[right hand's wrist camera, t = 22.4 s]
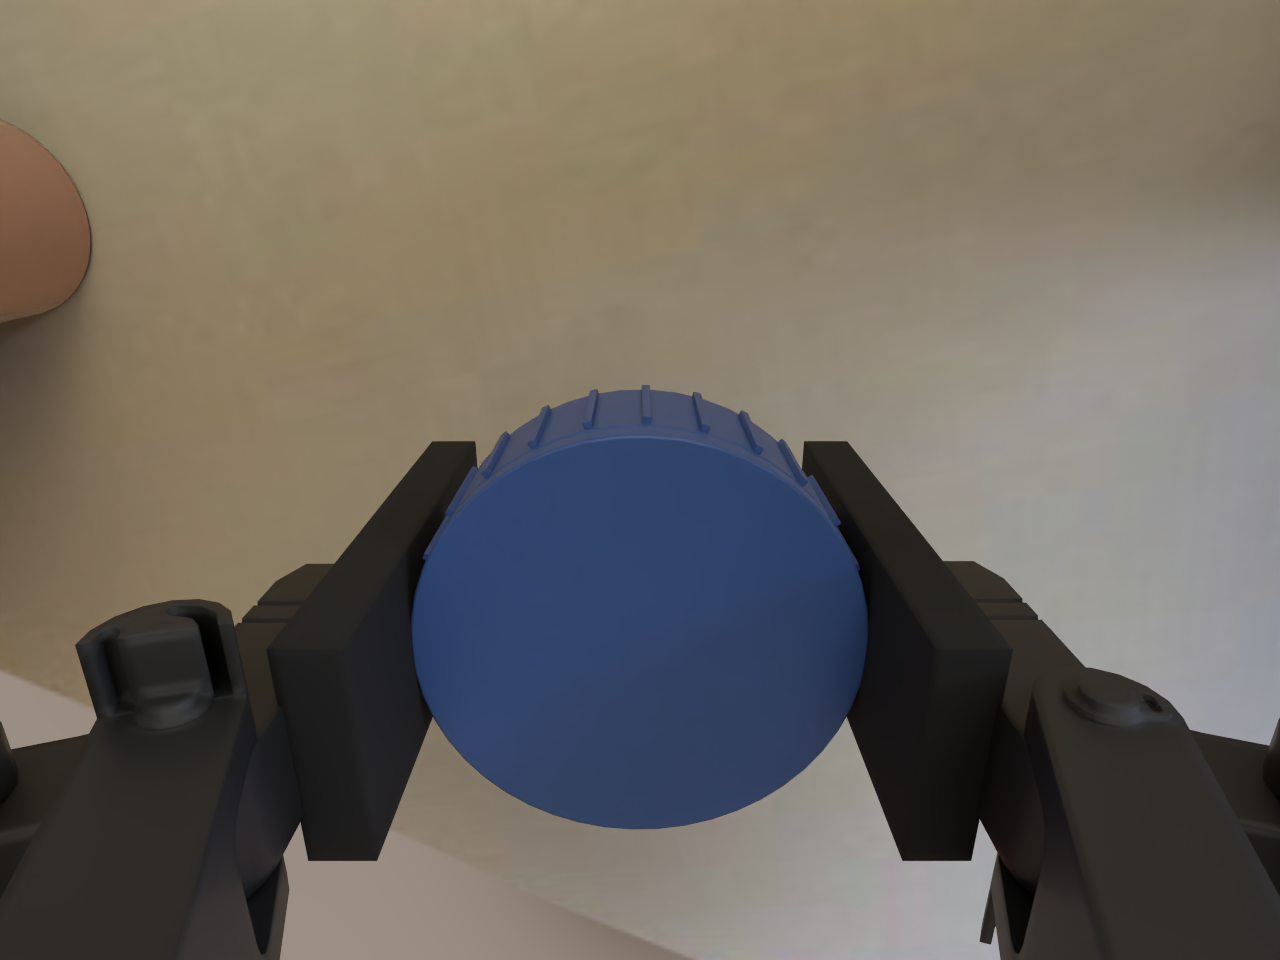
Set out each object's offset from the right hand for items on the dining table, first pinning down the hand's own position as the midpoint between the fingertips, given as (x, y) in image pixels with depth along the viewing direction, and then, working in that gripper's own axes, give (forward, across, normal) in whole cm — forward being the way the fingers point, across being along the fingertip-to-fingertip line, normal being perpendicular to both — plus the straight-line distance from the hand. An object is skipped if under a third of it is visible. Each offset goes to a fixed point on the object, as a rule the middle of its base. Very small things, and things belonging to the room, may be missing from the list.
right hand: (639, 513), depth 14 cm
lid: (-4, 0, 0) cm, 4 cm away
